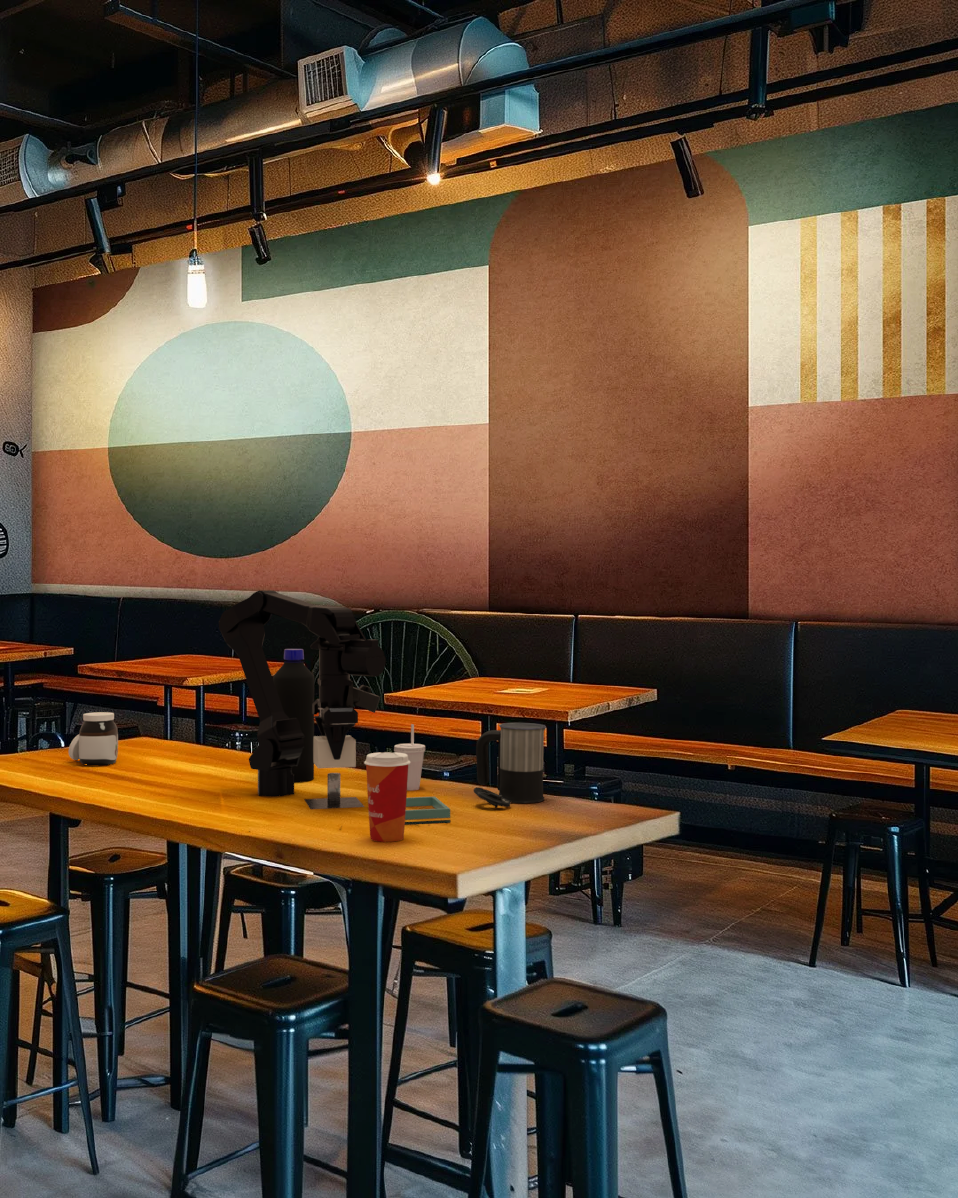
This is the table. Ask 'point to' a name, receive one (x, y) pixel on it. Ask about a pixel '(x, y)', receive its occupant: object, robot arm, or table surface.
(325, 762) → the collar
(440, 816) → the tray
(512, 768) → the milk frother
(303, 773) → the bottle
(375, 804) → the paper cup
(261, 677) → the robot arm
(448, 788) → the table surface
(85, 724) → the spread jar
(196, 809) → the table surface
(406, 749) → the smoothie
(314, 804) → the metal post stand
